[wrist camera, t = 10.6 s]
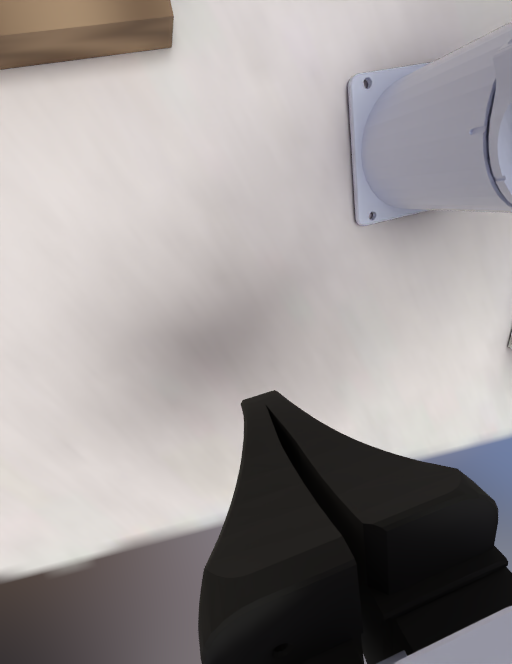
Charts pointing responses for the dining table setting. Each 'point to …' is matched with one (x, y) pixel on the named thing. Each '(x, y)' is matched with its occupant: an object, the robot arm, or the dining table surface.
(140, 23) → the open wooden frame
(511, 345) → the tea box
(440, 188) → the robot arm
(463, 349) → the dining table surface
